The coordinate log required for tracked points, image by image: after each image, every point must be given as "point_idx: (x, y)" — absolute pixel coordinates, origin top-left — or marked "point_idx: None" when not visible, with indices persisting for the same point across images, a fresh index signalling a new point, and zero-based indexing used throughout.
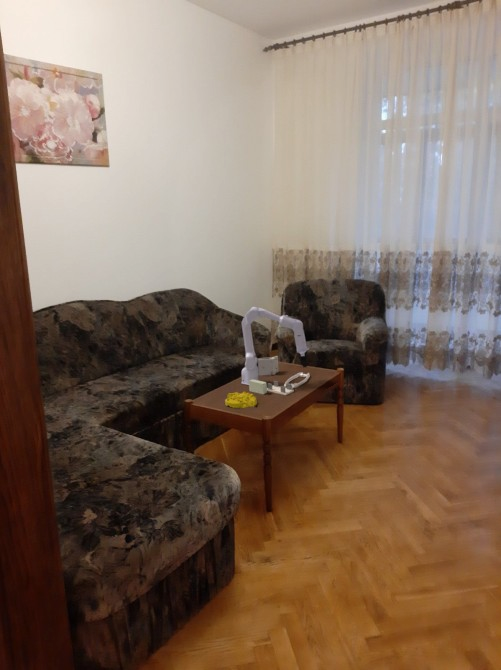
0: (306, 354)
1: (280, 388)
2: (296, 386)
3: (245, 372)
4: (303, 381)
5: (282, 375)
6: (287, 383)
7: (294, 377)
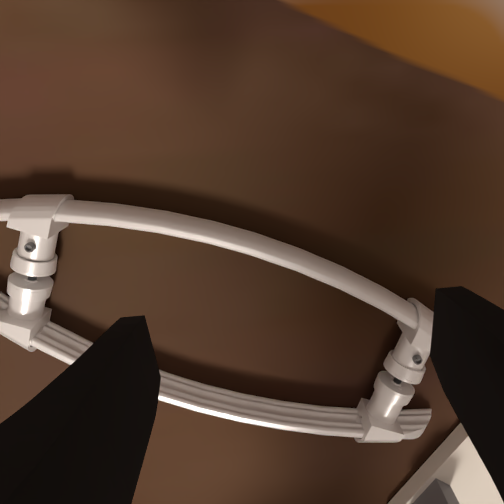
0: (37, 473)
1: None
2: None
3: None
4: (301, 254)
5: None
6: (386, 415)
7: None
